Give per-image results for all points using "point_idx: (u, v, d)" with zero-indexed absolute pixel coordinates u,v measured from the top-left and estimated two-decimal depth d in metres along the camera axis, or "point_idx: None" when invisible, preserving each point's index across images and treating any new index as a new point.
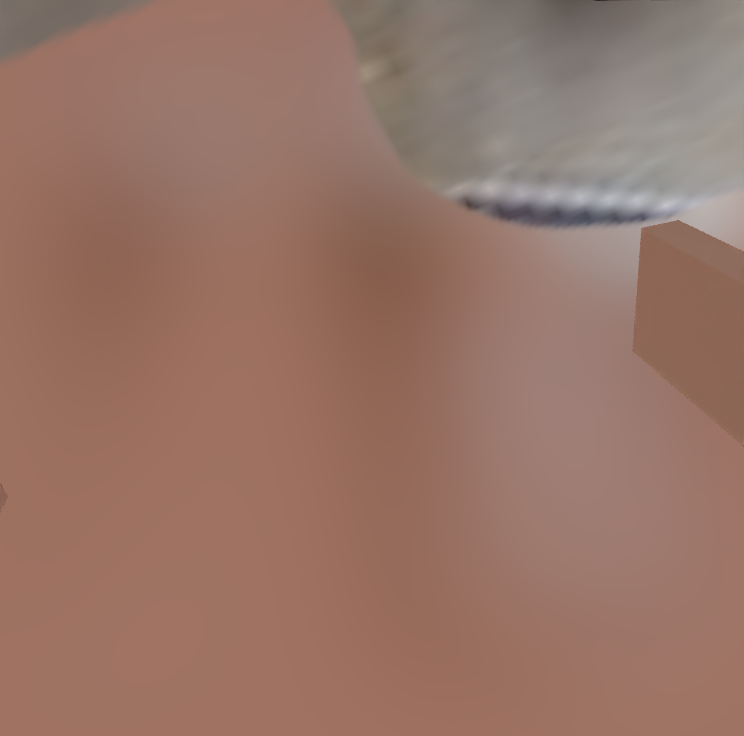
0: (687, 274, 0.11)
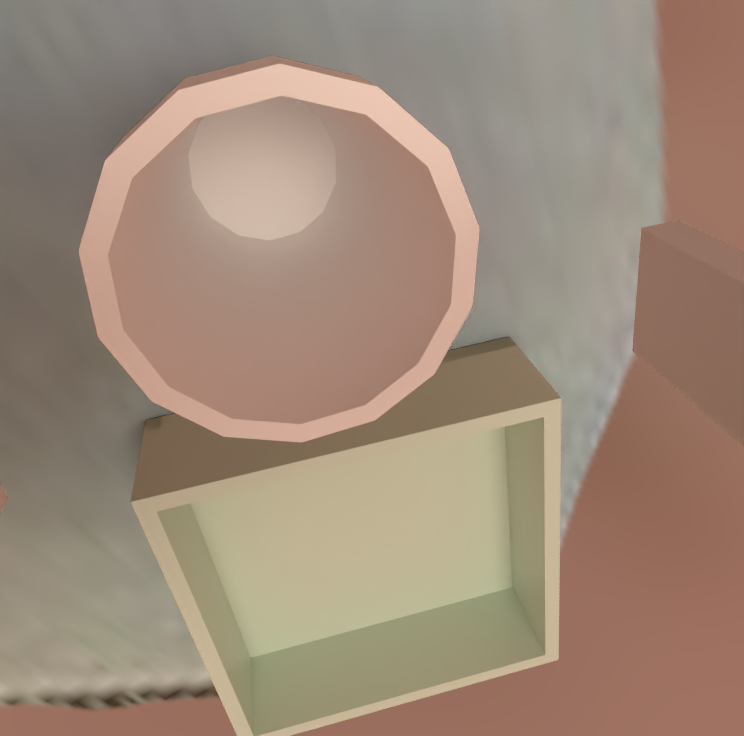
0: (687, 274, 0.11)
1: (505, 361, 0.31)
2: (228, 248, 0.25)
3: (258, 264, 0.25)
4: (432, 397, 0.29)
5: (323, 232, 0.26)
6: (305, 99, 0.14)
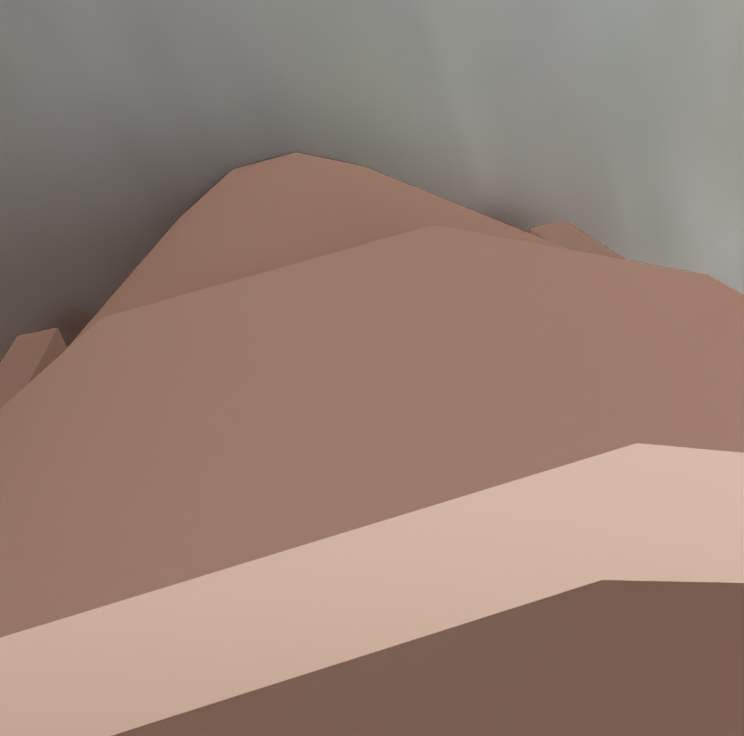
0: None
1: None
2: None
3: None
4: None
5: None
6: (715, 574, 0.02)
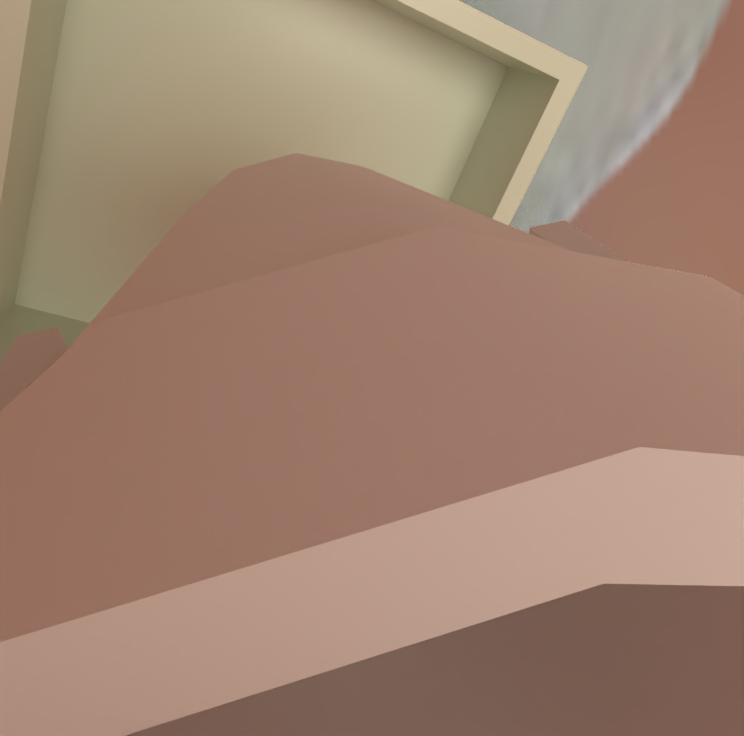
0: None
1: None
2: None
3: None
4: None
5: None
6: (717, 577, 0.02)
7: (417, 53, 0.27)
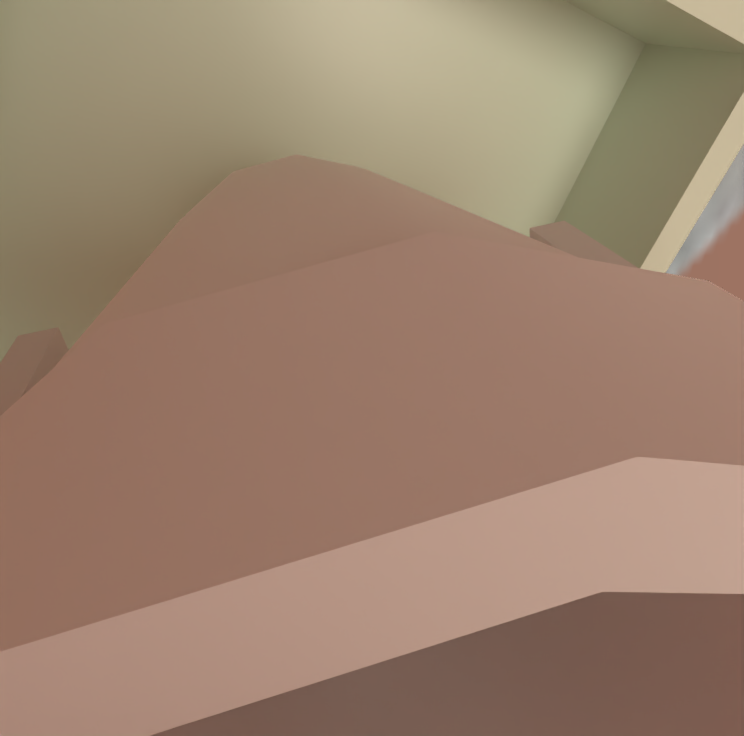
0: None
1: None
2: None
3: None
4: None
5: None
6: (715, 585, 0.02)
7: (518, 24, 0.18)
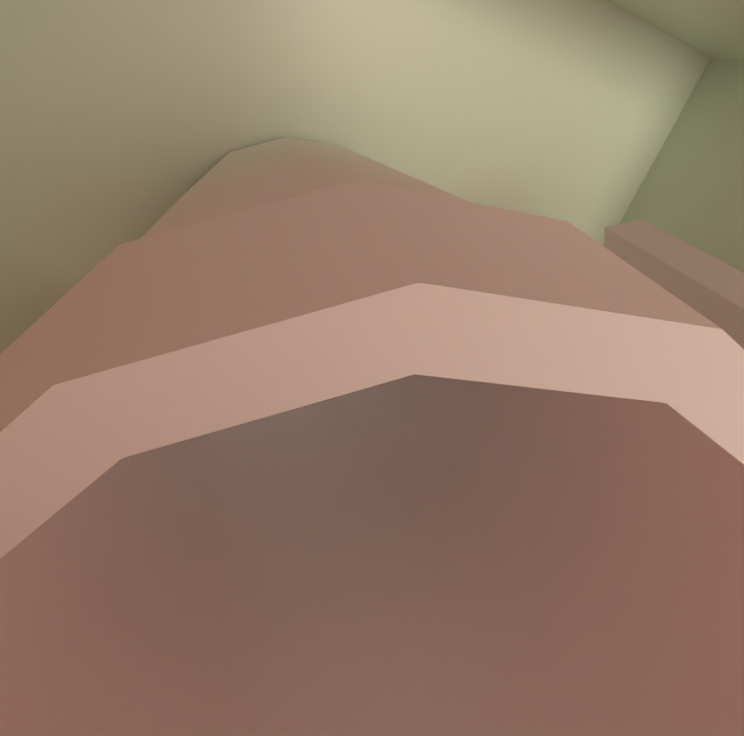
0: (646, 272, 0.11)
1: None
2: None
3: (286, 429, 0.16)
4: None
5: None
6: (489, 377, 0.04)
7: (567, 35, 0.16)
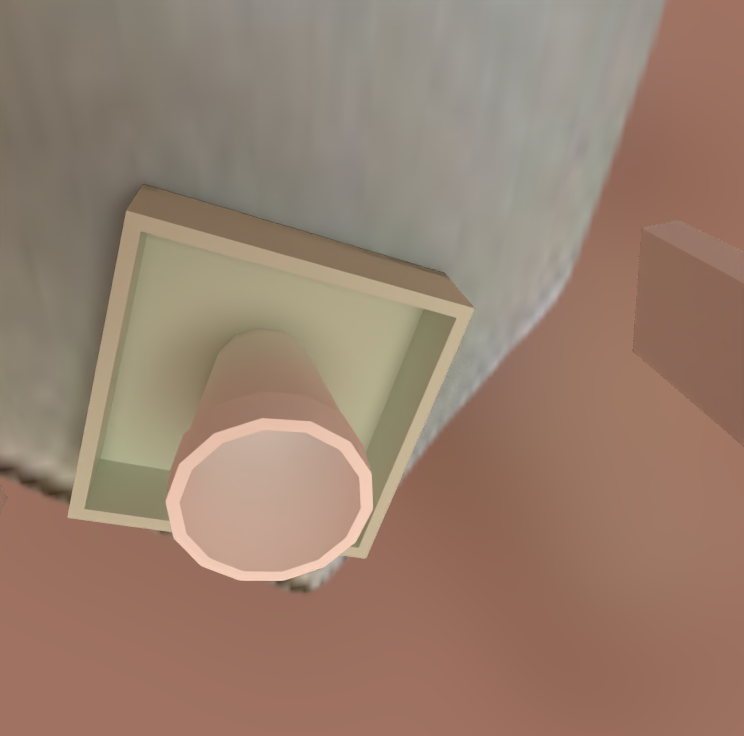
0: (687, 274, 0.11)
1: (439, 280, 0.39)
2: None
3: (261, 444, 0.39)
4: (381, 270, 0.36)
5: None
6: (275, 430, 0.28)
7: None
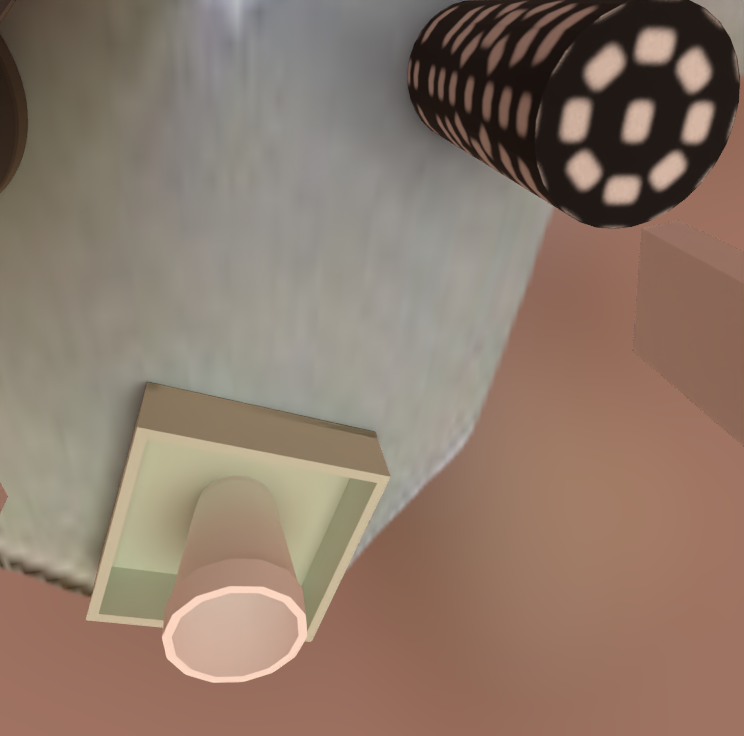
0: (687, 274, 0.11)
1: (368, 444, 0.52)
2: None
3: None
4: (322, 446, 0.49)
5: None
6: (238, 592, 0.41)
7: None
